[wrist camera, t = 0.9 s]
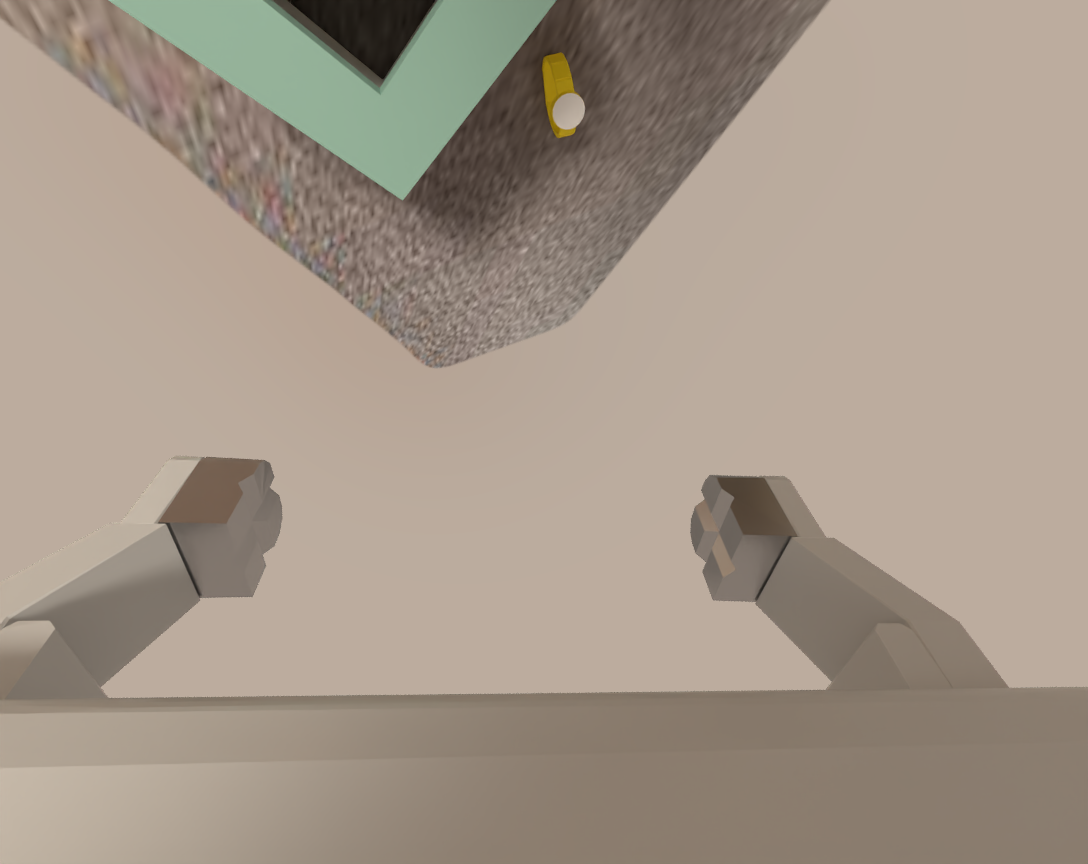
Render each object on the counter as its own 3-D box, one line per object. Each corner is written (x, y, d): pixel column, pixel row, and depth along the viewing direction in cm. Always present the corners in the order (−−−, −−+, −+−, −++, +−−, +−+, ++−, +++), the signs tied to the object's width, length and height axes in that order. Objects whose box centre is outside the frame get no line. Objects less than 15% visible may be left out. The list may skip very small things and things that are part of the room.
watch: (531, 48, 45) (547, 71, 42) (563, 41, 46) (582, 63, 42) (540, 125, 50) (556, 151, 46) (569, 118, 50) (587, 144, 46)
